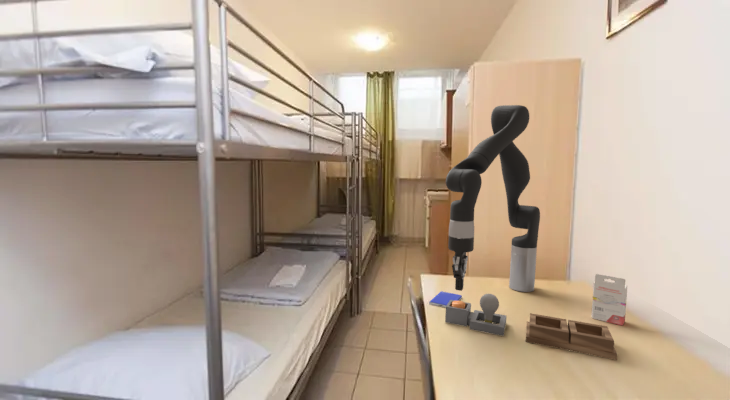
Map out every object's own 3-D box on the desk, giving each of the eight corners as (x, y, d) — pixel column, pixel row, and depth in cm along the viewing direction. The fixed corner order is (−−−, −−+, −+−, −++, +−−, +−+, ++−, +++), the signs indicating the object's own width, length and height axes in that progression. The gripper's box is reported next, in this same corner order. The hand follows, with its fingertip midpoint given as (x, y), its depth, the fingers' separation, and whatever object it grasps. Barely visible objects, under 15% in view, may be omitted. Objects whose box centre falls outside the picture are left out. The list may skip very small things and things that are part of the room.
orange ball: (453, 310, 116) (453, 299, 115) (465, 312, 114) (466, 301, 114) (450, 314, 112) (450, 303, 112) (463, 317, 110) (464, 306, 110)
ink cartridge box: (625, 321, 115) (629, 276, 113) (622, 326, 111) (626, 279, 110) (593, 313, 121) (597, 270, 119) (590, 318, 117) (594, 273, 116)
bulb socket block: (450, 313, 119) (451, 298, 118) (506, 323, 112) (506, 307, 111) (444, 324, 110) (444, 308, 110) (503, 336, 103) (504, 319, 103)
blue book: (440, 290, 137) (429, 301, 126) (462, 295, 133) (452, 306, 122) (440, 294, 137) (428, 305, 126) (461, 299, 133) (451, 310, 122)
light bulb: (499, 331, 106) (500, 298, 105) (479, 329, 107) (481, 296, 106) (496, 323, 111) (497, 291, 111) (477, 321, 113) (479, 290, 112)
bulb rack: (526, 326, 110) (527, 311, 110) (608, 341, 101) (610, 325, 101) (525, 341, 100) (526, 326, 100) (616, 360, 91) (618, 342, 91)
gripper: (453, 230, 118) (451, 281, 120) (444, 237, 106) (442, 294, 108) (477, 232, 115) (474, 285, 117) (470, 240, 103) (468, 298, 105)
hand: (459, 289), depth 112 cm, fingers closed
